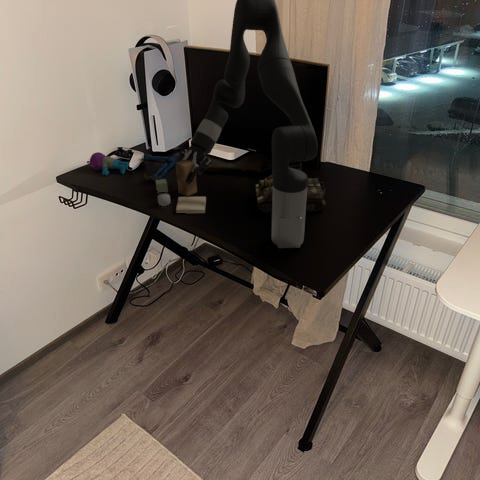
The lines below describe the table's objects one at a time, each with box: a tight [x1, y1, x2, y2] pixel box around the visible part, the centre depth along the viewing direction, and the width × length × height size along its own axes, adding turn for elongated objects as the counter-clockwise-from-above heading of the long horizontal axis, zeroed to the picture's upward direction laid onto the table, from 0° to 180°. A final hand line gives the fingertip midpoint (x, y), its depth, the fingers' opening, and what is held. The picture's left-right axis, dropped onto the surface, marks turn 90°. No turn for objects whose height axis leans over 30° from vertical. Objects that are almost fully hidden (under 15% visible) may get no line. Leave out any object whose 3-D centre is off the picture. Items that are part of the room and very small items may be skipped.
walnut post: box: [175, 159, 198, 197], centre depth 153 cm, size 4×4×11 cm
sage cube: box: [155, 178, 169, 194], centre depth 157 cm, size 4×4×4 cm
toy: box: [86, 151, 130, 176], centre depth 172 cm, size 12×7×15 cm
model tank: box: [255, 162, 327, 214], centre depth 145 cm, size 13×22×15 cm, turn 91°
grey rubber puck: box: [157, 193, 172, 206], centre depth 149 cm, size 4×4×3 cm
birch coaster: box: [175, 196, 207, 214], centre depth 147 cm, size 9×9×1 cm
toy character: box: [143, 152, 212, 183], centre depth 171 cm, size 30×4×25 cm
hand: (182, 180), depth 152 cm, fingers closed on walnut post, 4 cm apart
